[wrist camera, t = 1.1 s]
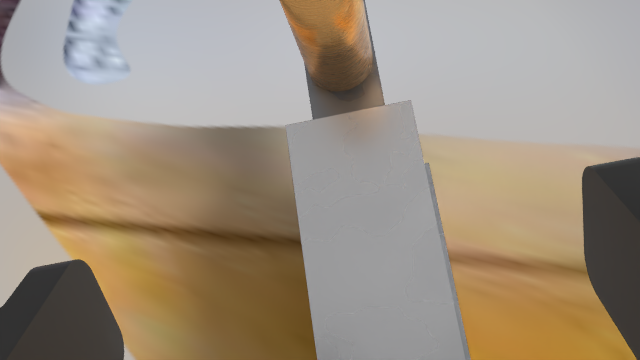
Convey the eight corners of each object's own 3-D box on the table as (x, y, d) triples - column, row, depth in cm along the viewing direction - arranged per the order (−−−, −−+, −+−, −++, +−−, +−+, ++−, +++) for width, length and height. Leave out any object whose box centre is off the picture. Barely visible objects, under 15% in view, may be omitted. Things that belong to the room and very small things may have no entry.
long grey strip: (360, -15, 30) (325, -216, 20) (444, 415, 24) (457, 452, 13) (301, -1, 30) (236, -193, 20) (368, 426, 24) (324, 471, 14)
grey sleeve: (424, 175, 33) (423, 97, 23) (477, 425, 29) (501, 453, 19) (316, 195, 34) (273, 127, 24) (353, 442, 30) (318, 477, 20)
